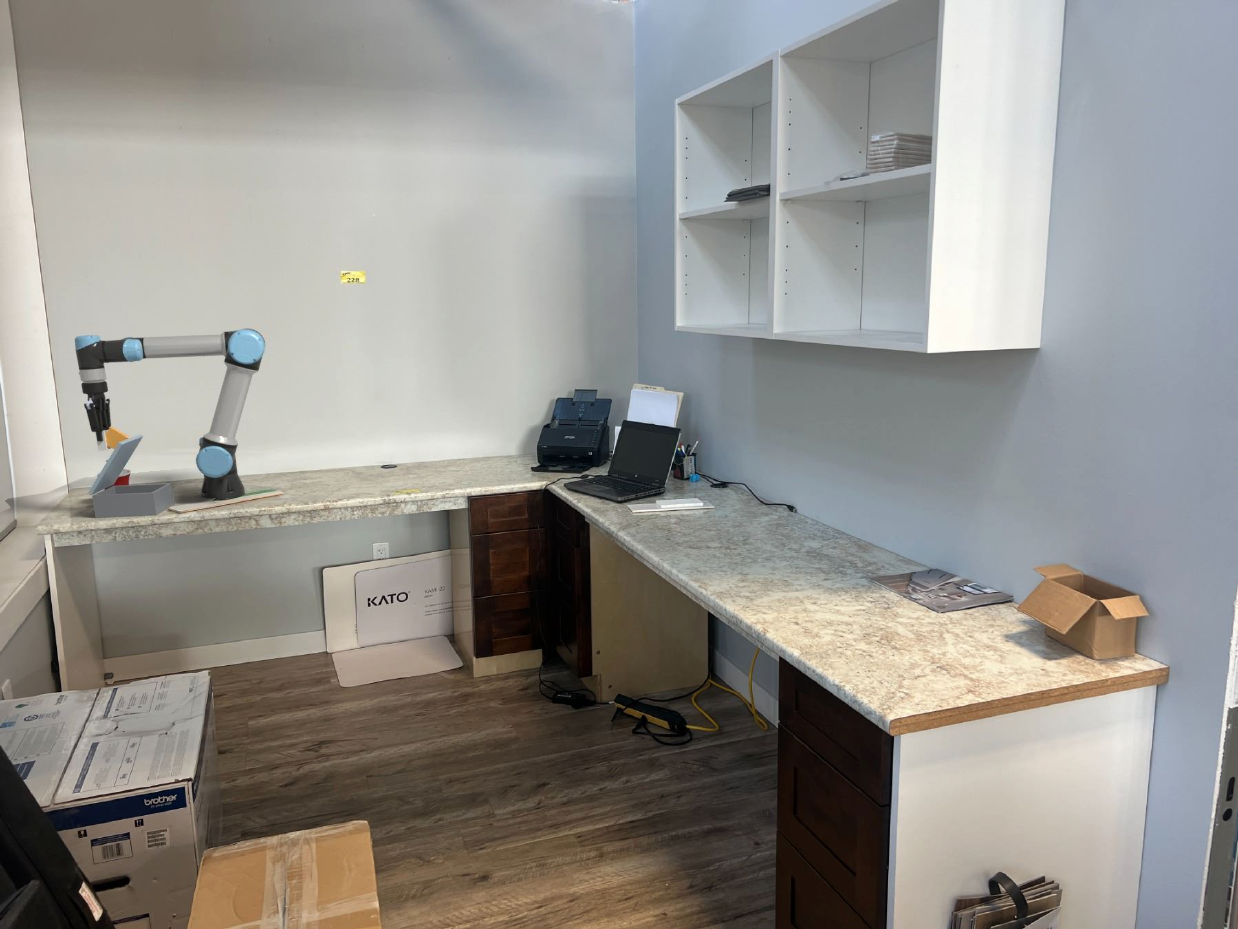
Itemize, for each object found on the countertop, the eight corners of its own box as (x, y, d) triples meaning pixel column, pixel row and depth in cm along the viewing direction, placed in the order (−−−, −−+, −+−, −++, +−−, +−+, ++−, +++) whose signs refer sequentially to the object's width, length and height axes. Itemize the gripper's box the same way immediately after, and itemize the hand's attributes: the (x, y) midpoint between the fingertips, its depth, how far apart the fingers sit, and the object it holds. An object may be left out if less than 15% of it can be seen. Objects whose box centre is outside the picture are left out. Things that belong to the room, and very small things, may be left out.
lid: (143, 436, 308) (121, 423, 307) (122, 444, 293) (99, 430, 291) (112, 485, 311) (91, 473, 309) (90, 496, 295) (67, 483, 294)
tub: (174, 507, 314) (171, 483, 312) (156, 517, 299) (153, 493, 297) (116, 509, 312) (113, 485, 310) (96, 520, 298) (92, 495, 296)
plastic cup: (105, 508, 315) (100, 476, 312) (99, 503, 323) (94, 471, 320) (139, 503, 322) (134, 471, 319) (131, 498, 330) (127, 467, 327)
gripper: (93, 379, 302) (103, 446, 307) (70, 384, 288) (82, 454, 293) (115, 378, 303) (125, 445, 308) (94, 383, 289) (105, 453, 293)
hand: (104, 449), depth 300 cm, fingers closed on lid, 2 cm apart
